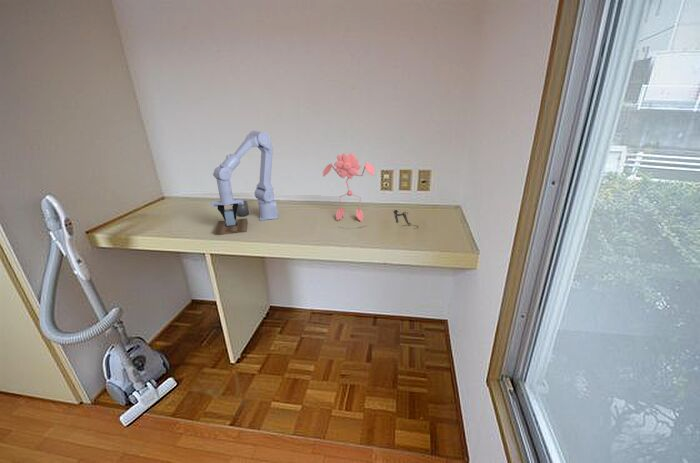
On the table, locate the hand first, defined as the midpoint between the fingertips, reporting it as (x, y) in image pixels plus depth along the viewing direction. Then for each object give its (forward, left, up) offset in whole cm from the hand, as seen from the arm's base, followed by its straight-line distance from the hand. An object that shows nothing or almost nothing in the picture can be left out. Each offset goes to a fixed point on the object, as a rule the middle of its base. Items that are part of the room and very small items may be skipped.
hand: (230, 219), depth 157 cm
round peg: (-4, -19, -5) cm, 20 cm away
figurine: (-57, +9, -5) cm, 58 cm away
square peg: (0, 0, -2) cm, 3 cm away
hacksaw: (-86, +13, -6) cm, 87 cm away
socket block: (0, 0, -5) cm, 5 cm away
